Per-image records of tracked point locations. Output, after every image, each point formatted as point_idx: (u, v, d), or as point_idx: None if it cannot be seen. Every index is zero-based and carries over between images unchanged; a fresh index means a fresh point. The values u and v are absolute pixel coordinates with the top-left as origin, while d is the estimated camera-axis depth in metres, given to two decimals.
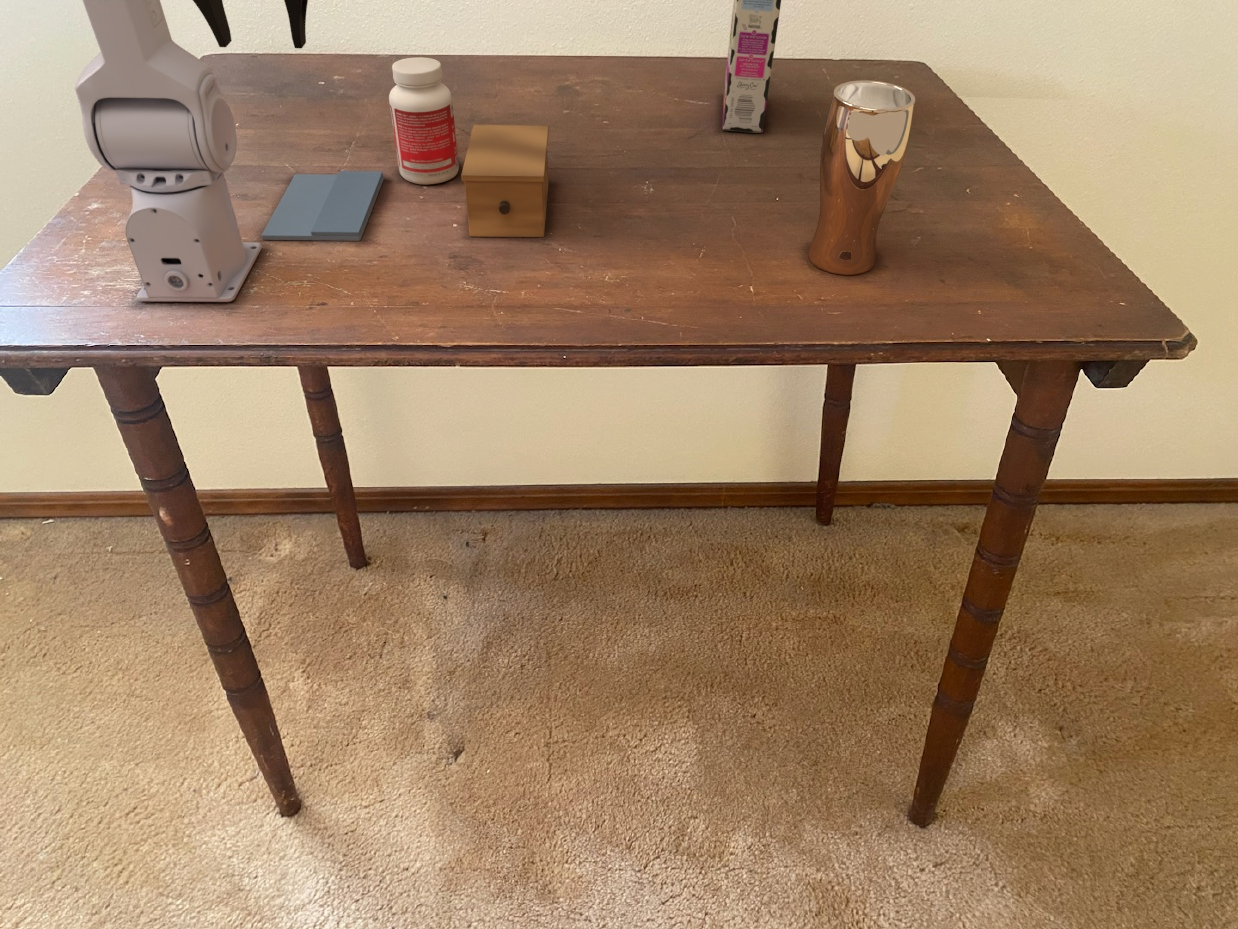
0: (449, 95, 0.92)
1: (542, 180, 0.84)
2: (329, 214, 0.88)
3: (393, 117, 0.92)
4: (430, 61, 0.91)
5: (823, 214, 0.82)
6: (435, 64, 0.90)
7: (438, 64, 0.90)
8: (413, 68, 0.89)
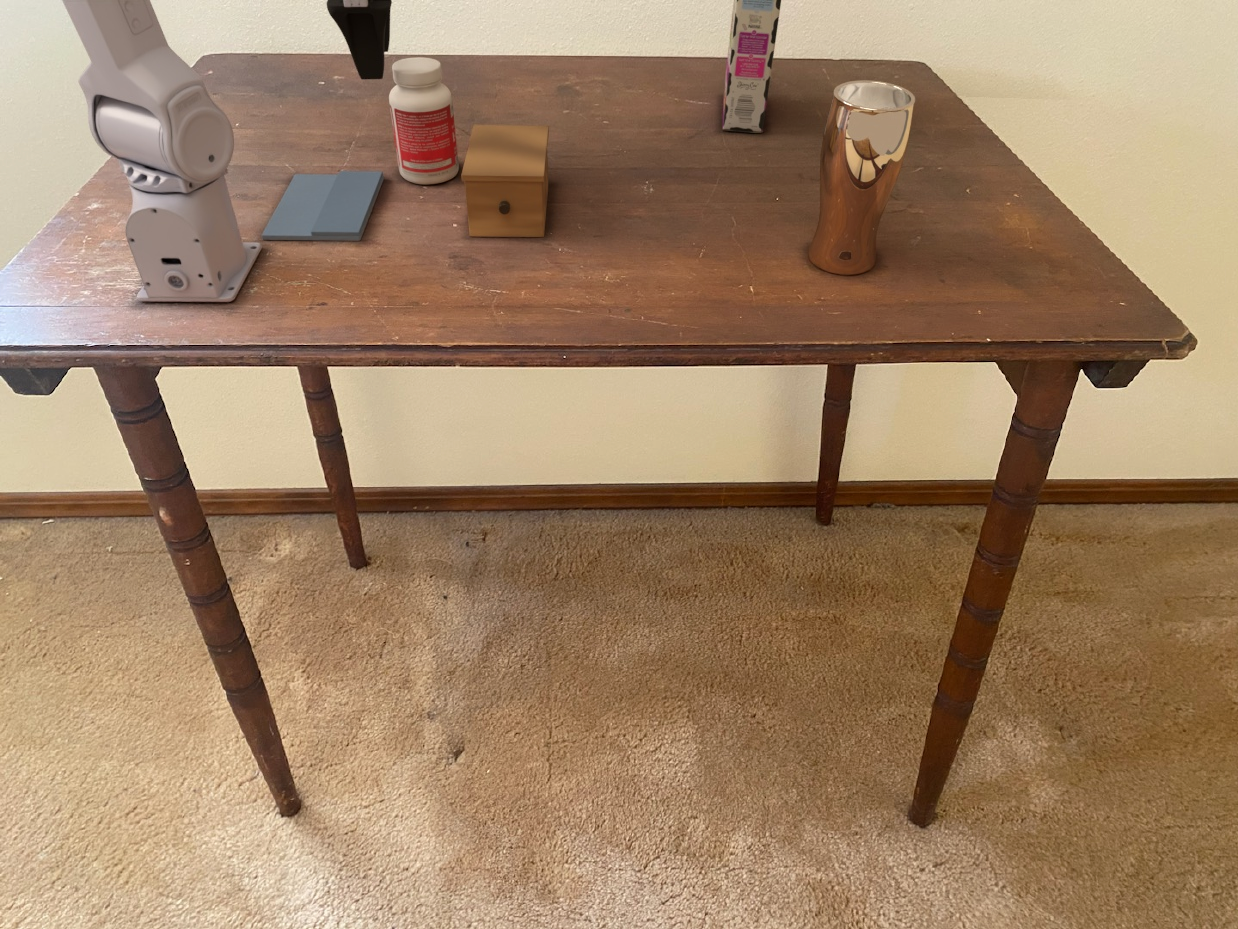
0: (449, 95, 0.92)
1: (542, 180, 0.84)
2: (329, 214, 0.88)
3: (393, 117, 0.92)
4: (430, 61, 0.91)
5: (823, 214, 0.82)
6: (435, 64, 0.90)
7: (438, 64, 0.90)
8: (413, 68, 0.89)
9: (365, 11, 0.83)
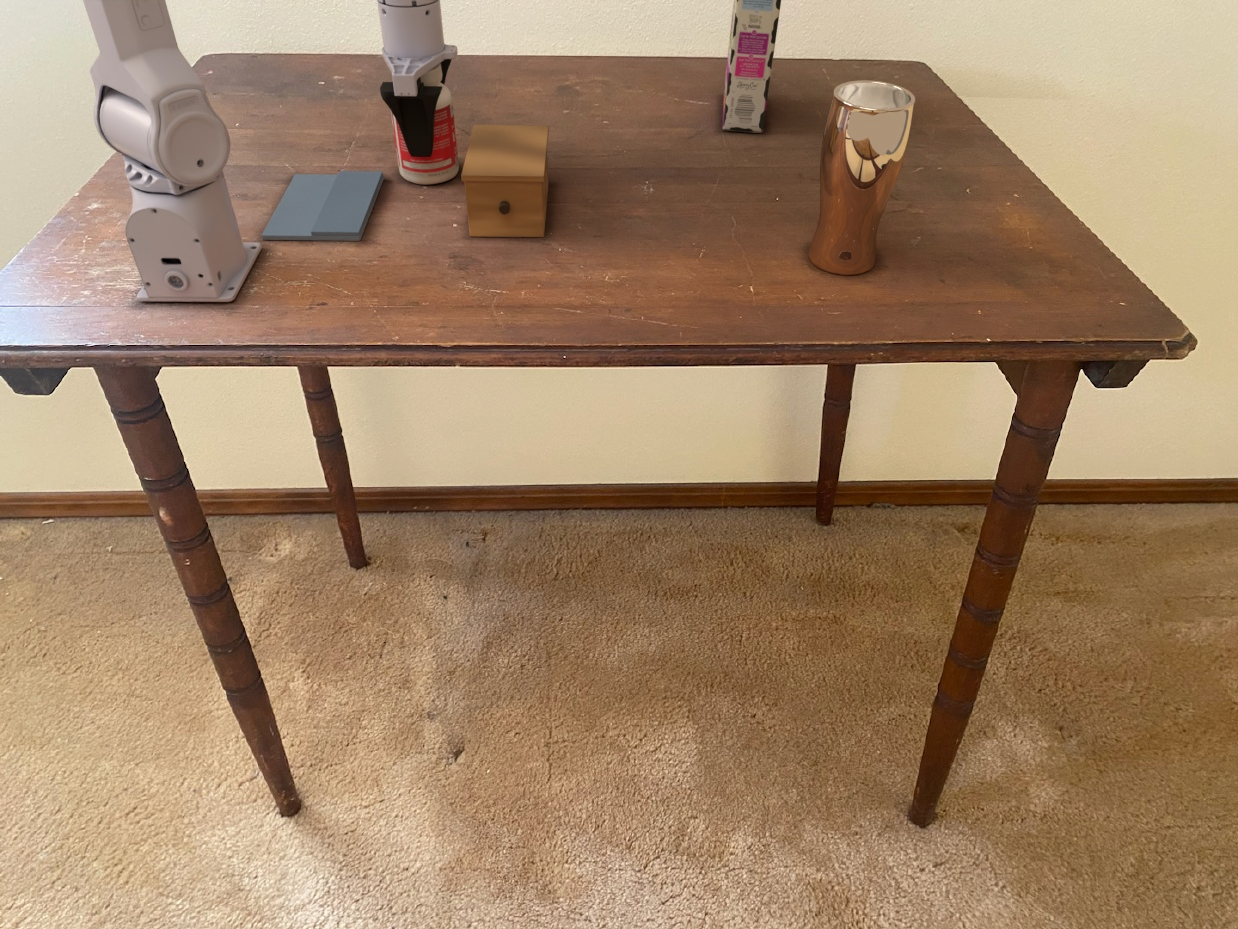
0: (449, 95, 0.92)
1: (542, 180, 0.84)
2: (329, 214, 0.88)
3: (393, 117, 0.92)
4: None
5: (823, 214, 0.82)
6: None
7: (438, 64, 0.90)
8: None
9: (416, 97, 0.86)
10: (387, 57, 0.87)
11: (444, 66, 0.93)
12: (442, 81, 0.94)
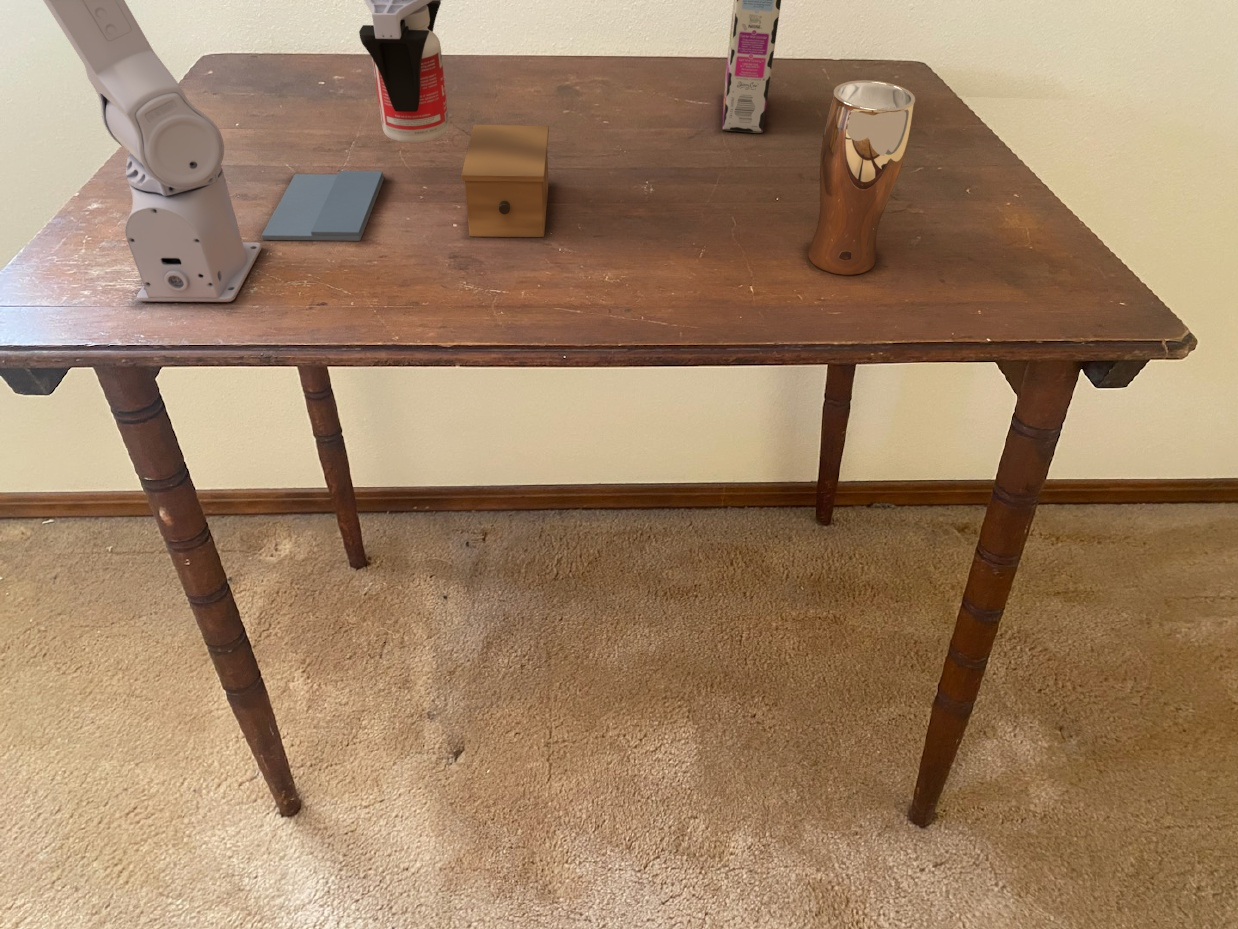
0: (437, 42, 0.83)
1: (542, 180, 0.84)
2: (329, 214, 0.88)
3: (375, 67, 0.83)
4: None
5: (823, 214, 0.82)
6: (422, 7, 0.81)
7: (425, 7, 0.81)
8: None
9: (399, 41, 0.77)
10: None
11: (432, 11, 0.84)
12: (430, 29, 0.85)
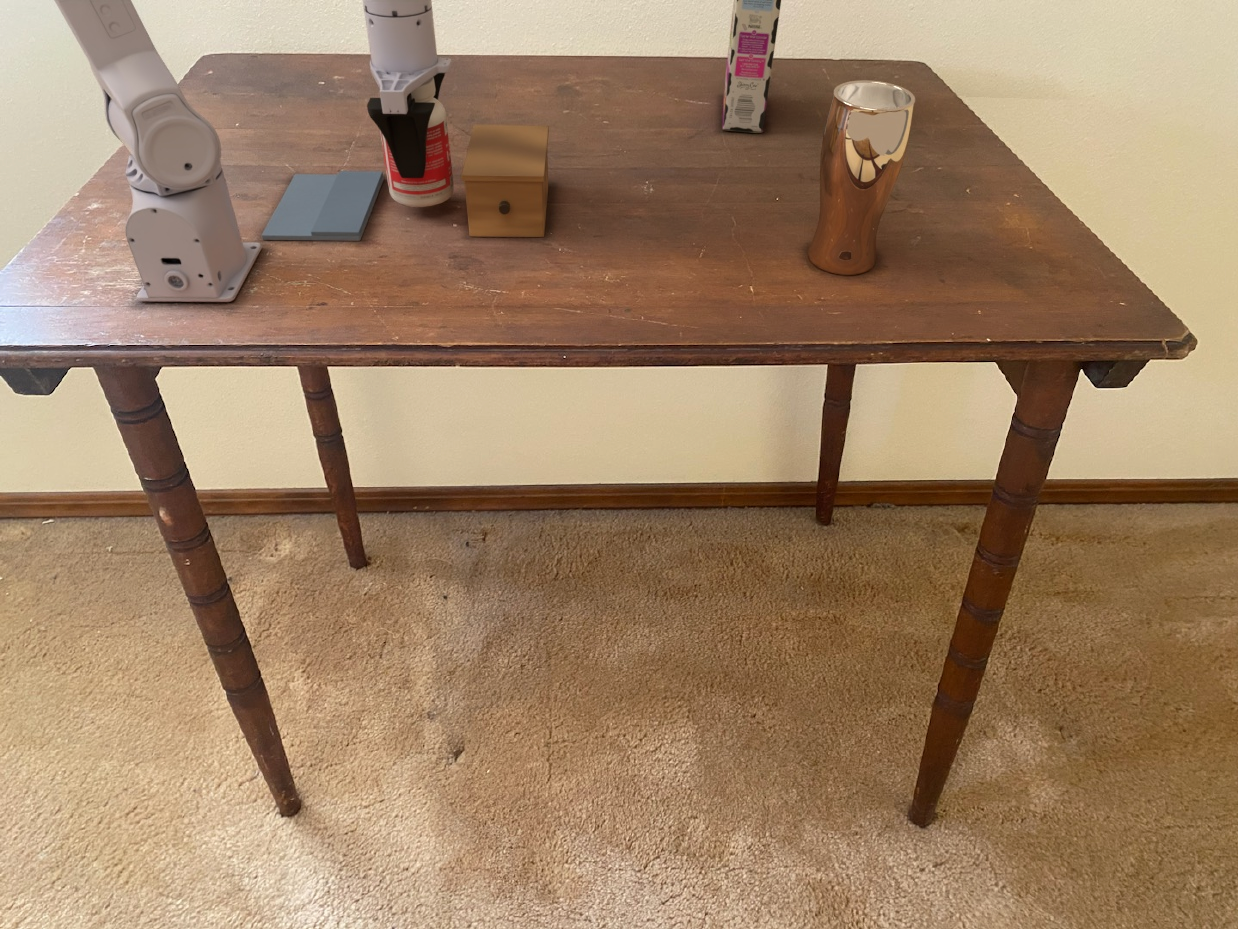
0: (443, 111, 0.85)
1: (542, 180, 0.84)
2: (329, 214, 0.88)
3: (382, 135, 0.85)
4: None
5: (823, 214, 0.82)
6: None
7: (431, 78, 0.83)
8: None
9: (406, 114, 0.80)
10: (375, 71, 0.80)
11: (437, 80, 0.86)
12: (435, 96, 0.87)
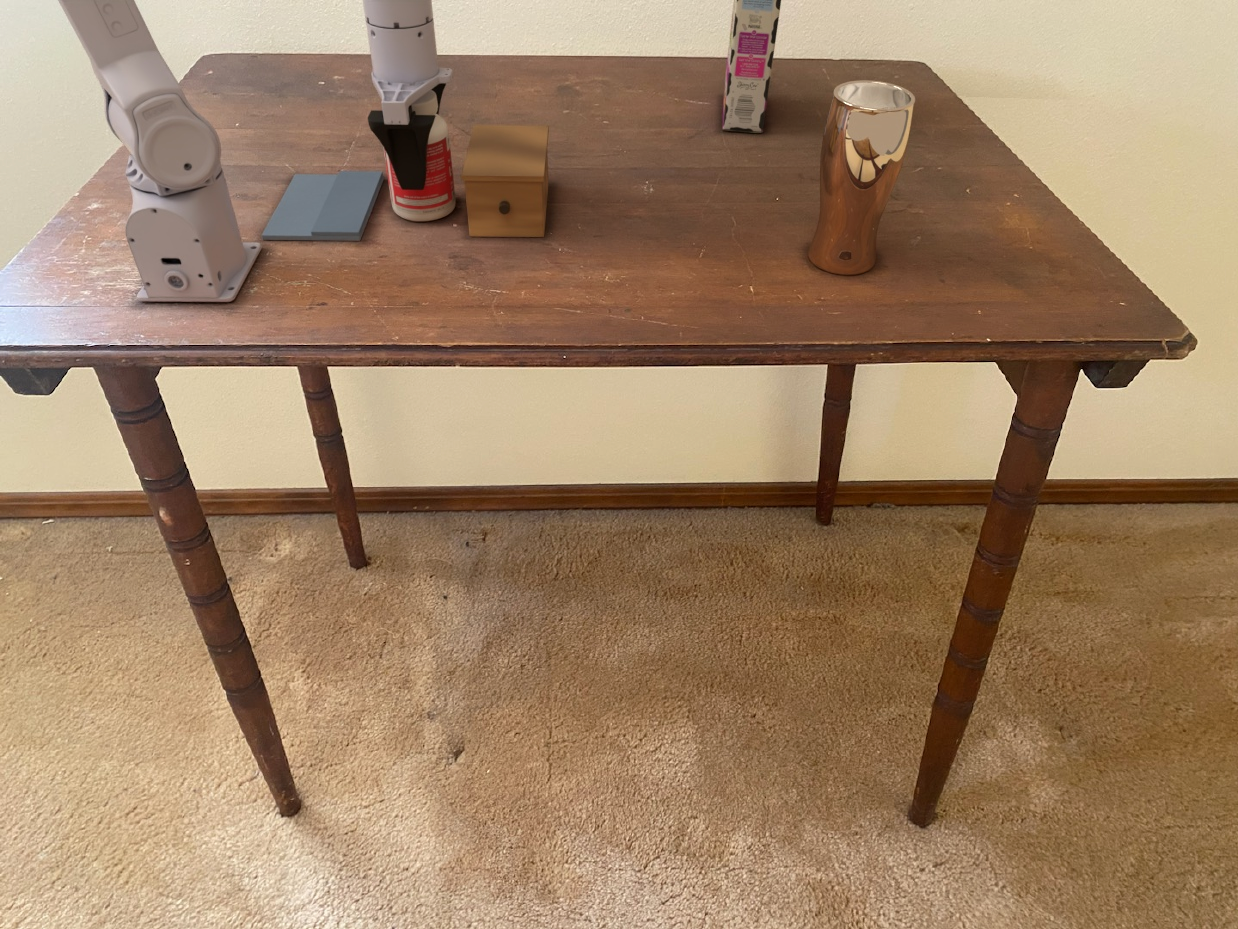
0: (445, 127, 0.86)
1: (542, 180, 0.84)
2: (329, 214, 0.88)
3: (385, 151, 0.86)
4: None
5: (823, 214, 0.82)
6: (430, 95, 0.84)
7: (433, 95, 0.84)
8: None
9: (406, 127, 0.80)
10: (377, 82, 0.81)
11: (439, 88, 0.87)
12: None
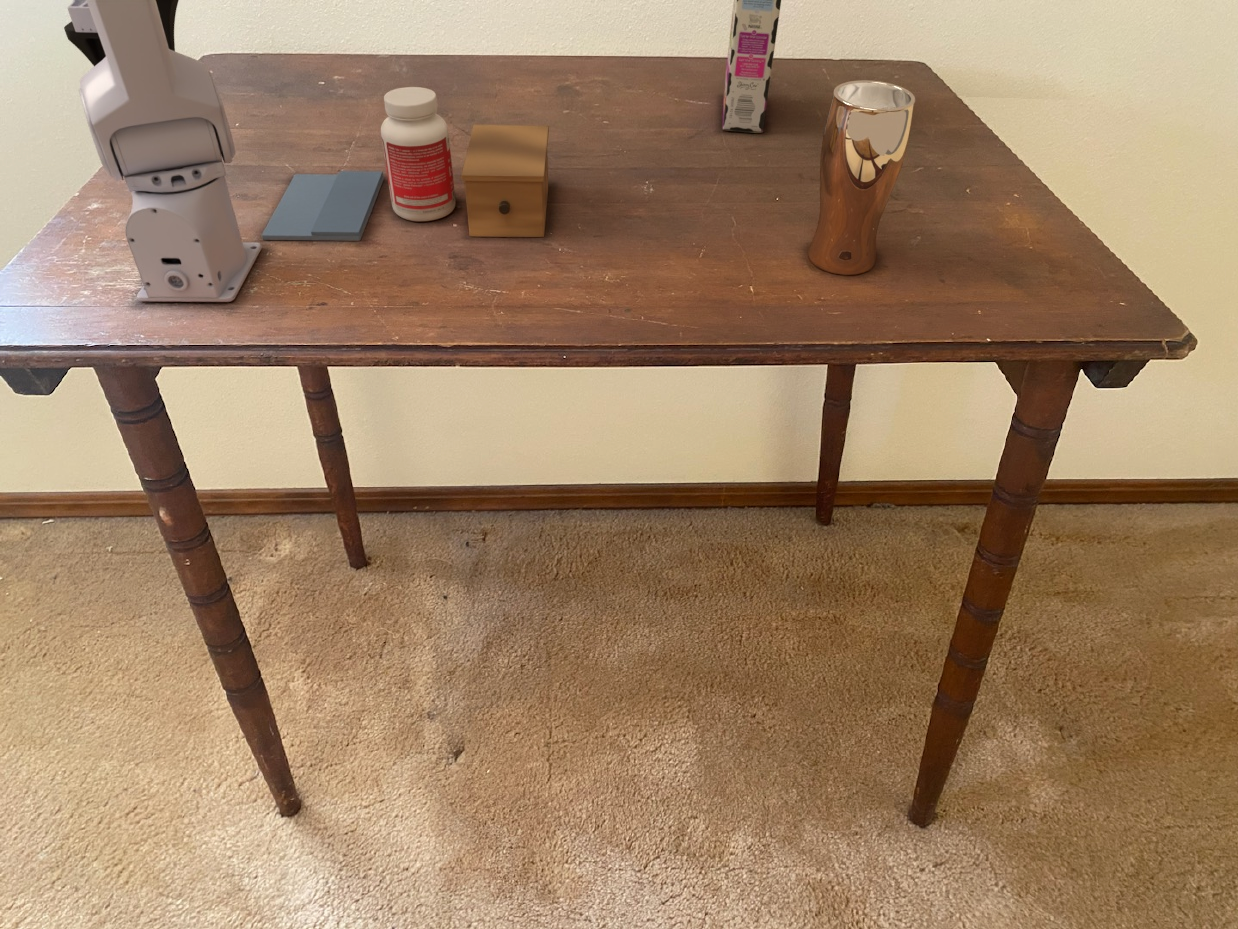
0: (445, 127, 0.86)
1: (542, 180, 0.84)
2: (329, 214, 0.88)
3: (385, 151, 0.86)
4: (424, 91, 0.85)
5: (823, 214, 0.82)
6: (430, 95, 0.84)
7: (433, 95, 0.84)
8: (406, 99, 0.83)
9: None
10: None
11: (166, 3, 0.84)
12: (167, 21, 0.85)
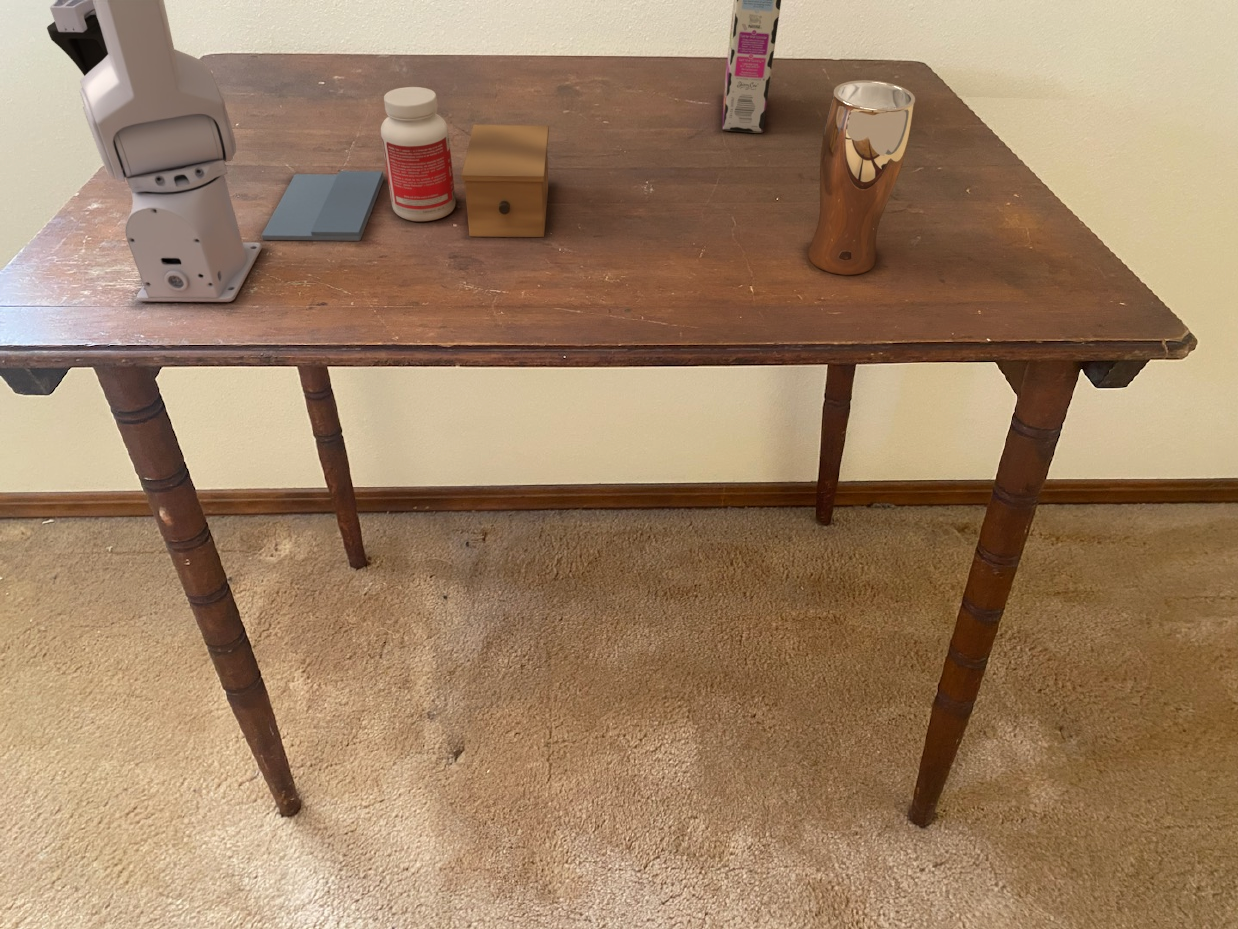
0: (445, 127, 0.86)
1: (542, 180, 0.84)
2: (329, 214, 0.88)
3: (385, 151, 0.86)
4: (424, 91, 0.85)
5: (823, 214, 0.82)
6: (430, 95, 0.84)
7: (433, 95, 0.84)
8: (407, 99, 0.83)
9: (87, 36, 0.76)
10: None
11: None
12: None
